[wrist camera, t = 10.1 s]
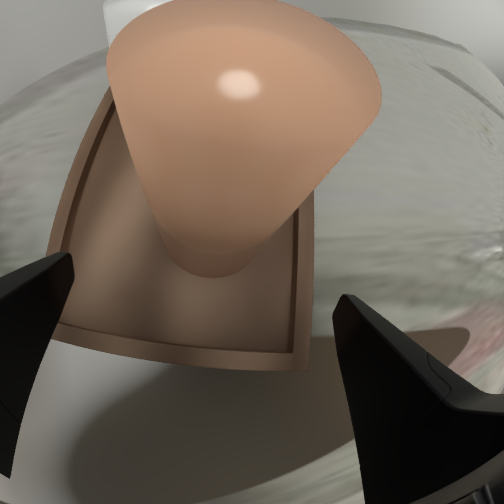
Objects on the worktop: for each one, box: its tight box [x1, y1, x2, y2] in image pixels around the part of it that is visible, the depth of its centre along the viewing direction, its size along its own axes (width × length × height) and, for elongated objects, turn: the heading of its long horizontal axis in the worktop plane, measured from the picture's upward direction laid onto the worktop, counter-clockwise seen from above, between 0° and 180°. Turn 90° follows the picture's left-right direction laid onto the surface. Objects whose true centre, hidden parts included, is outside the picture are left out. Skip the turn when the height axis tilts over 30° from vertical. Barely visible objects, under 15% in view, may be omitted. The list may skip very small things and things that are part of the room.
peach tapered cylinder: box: [106, 0, 382, 278], centre depth 10 cm, size 6×6×12 cm
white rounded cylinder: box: [103, 0, 173, 48], centre depth 13 cm, size 6×6×10 cm
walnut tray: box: [46, 87, 314, 371], centre depth 17 cm, size 16×22×2 cm
